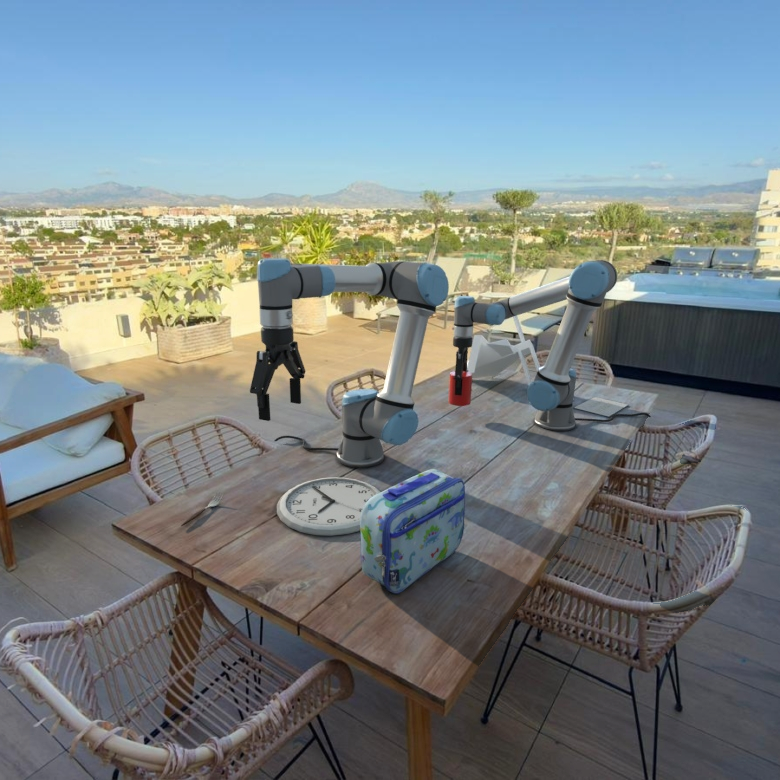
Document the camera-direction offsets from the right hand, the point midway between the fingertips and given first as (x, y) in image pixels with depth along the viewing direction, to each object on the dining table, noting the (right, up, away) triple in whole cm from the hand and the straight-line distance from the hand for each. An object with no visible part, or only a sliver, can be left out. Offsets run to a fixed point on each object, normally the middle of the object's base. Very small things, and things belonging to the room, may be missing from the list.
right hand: (460, 391), depth 211 cm
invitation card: (+63, -7, +15) cm, 65 cm away
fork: (-78, -32, -73) cm, 111 cm away
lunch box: (-23, -39, -93) cm, 104 cm away
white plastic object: (+24, +2, +43) cm, 49 cm away
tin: (0, -5, +1) cm, 5 cm away
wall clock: (-44, -31, -68) cm, 87 cm away
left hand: (-55, -5, -81) cm, 98 cm away
